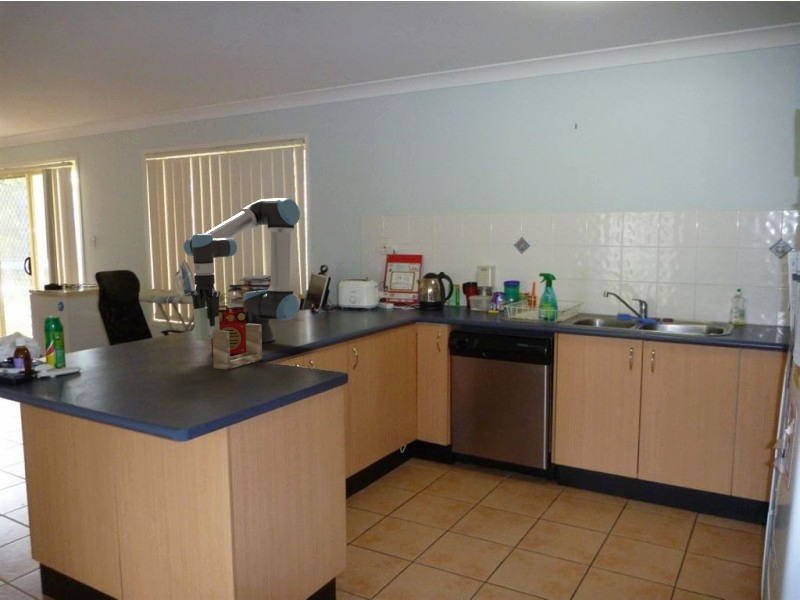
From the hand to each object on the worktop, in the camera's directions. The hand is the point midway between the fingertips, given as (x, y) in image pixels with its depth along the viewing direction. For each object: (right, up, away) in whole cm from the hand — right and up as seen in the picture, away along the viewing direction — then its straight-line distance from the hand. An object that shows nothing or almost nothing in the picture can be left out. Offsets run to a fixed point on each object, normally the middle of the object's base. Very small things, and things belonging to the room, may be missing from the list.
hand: (207, 333), depth 245 cm
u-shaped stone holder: (+14, -11, -5) cm, 18 cm away
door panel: (0, -2, 0) cm, 2 cm away
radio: (+5, -9, +15) cm, 18 cm away
